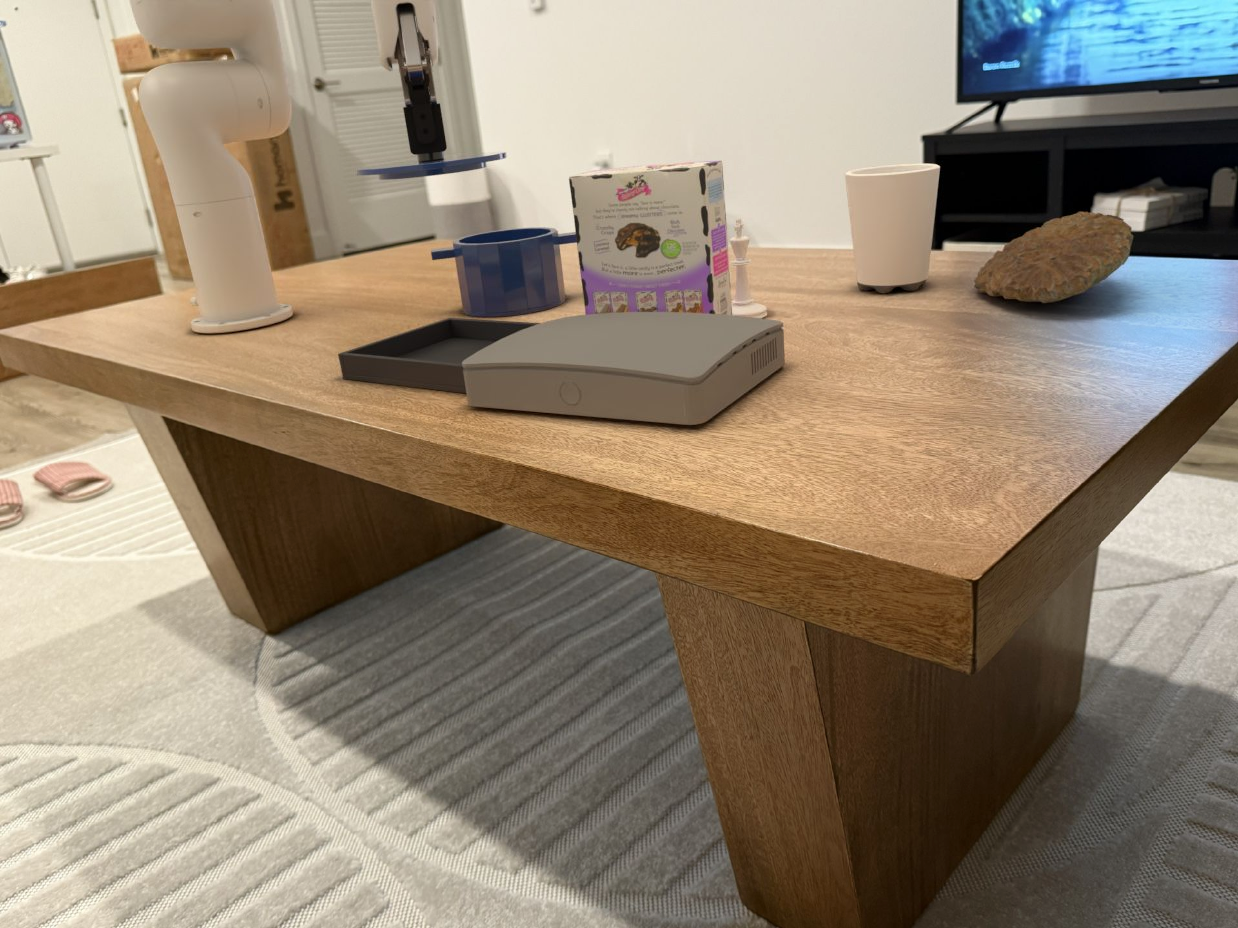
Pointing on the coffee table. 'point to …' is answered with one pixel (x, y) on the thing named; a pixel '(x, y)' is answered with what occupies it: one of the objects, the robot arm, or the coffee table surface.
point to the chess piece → (743, 278)
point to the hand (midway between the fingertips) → (429, 150)
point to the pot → (509, 270)
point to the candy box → (653, 238)
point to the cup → (892, 224)
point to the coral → (1058, 258)
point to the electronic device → (627, 365)
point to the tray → (426, 353)
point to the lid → (431, 165)
